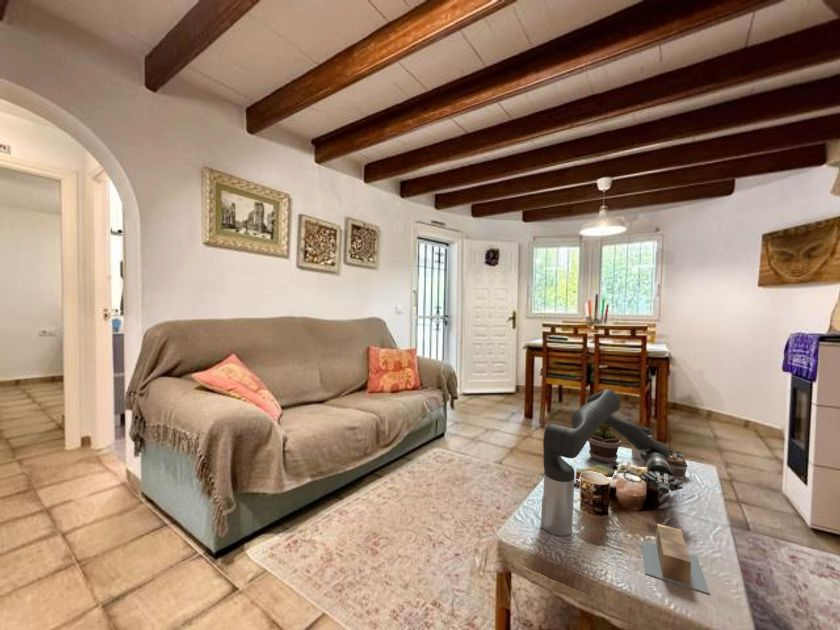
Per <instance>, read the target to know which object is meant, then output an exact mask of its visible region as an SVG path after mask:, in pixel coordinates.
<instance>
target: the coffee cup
mask: <svg viewBox="0 0 840 630" xmlns="http://www.w3.org/2000/svg"><path fill="white" fill-rule="evenodd" d="M636 425H637V424H636ZM637 426H638V427H639V428H641V429H642V430H643V431H644V432H645V433H646V434H647V435H648V436H649V437H651V438H652V436H653V431H652V430H651V428H649V427H647V426H645V425H641V424H640V425H639V424H638V425H637ZM630 444H631V443H630ZM630 447H631V457H633V458H635V459H636V460H642V458H641V456H640V453H641V451H642V450H638V449H637V448H635V447H634V446H633V445H632V444H631V445H630ZM642 461H643V460H642Z"/></svg>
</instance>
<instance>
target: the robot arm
mask: <svg viewBox="0 0 840 630" xmlns="http://www.w3.org/2000/svg"><path fill="white" fill-rule="evenodd" d="M620 408H621V400H620V397H619V395H618V394H617V393H616V391H614V390H611V389H608V388H607V389H606V388H605V389H603V390H600V391H598V392H596V393H594V394H591V395H590V396H588V397H587V399H586V403H585V404H583V405H582V406H580V407H579V408H578V409H576V410H575V411H574V412H573V414H572V415H571V418H570V419H571V420H570V423H571V424H570V425H571V427H572V428H571V427H568V426H563V425H559V424H554V423H549V424H548V425H547V426H546V427H545V429H544V432H543V439H542V440H543V443H542V445H543V446H542V447H543V469H544V471H543V489H542V490H543V493H542V495H543V496H542V498H541V513H540V528H542V529H544V530H545V531H547V532H549V533H550V534H552V535H556V536H559V537H562V536H563V537H564V536H565V537H566V536H569V535H570V534H572V532H573V526H574V525H573V524H574V523H573V519H574V518H573V517H574V501H575V500H574V496H575V495H574V493H575V478H576V474H575V473H576V472H575V468H574V467H573V466H572V465H571V464H569V463H568V462H566V460H564V459H563V458H567V459H575V458H576V457H577V456H579V454H580V453H581V452H582V450H583V448H584V447H585V445H586V444H587V442H588V439H589V438H590V437H591V436H592V435H593V434H594V433H595V432H596V431H597V430H599V428H600V427H601V425H602V424H603V423H604V422H605V423H606V424H607V425H609V426H610V427H611V429H613V430H615V431H616V432H618V434H620V435H621V436H623V437H624V438H625V439H626V440H627V441H628V442H629V443H630V444H632V445H633V446H634V447H635V448H637V449H638V450H642V451H641V453H640V456H641V458H642V461H643V463H645V465H646V470H647V473H646V472H645V471H641V472H640V473H641V477H640V479H641V480H642V481H643V482H645V483H647V484H648V485H650V486H651V487H653V488H655V487H657V488H658V492H661V494H662V495H668V494H669V493H670V491H671V492H675V491H679V490H681V489H683V487H684V481H683V480H681V479H676V477H673V475H672V472H671V469H670V466H669V465H668V462H667V459H668V458H669V457H670V452H669V450H670V449H669V448H668V447H667V446H666V445H664V444H663V443H661V442H659V441H658V440H655V439H654V438H653V437H652V436H651V437H649V436H648V435H647V434H646V433H645V432H644V431H643V430H642V429H641V428H639V427H638V426H637V424H635V423H634V422H631V421H628V420H625V419H622V418H620V417H618V416H615V415H614V414H615V412H618V411H619V410H620Z"/></svg>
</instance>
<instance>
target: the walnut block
mask: <svg viewBox="0 0 840 630" xmlns="http://www.w3.org/2000/svg"><path fill="white" fill-rule="evenodd" d="M655 539H656V541H655V543H656V545H657V549H658V555H659V560H660V566H661V571H662V576H664V577H667V578H670V579H673V580H676V581H680V582H683V583H686V584H689V585H690V572H691V561H690V557H689V554H690V553H689V552H688V549H687V545H686V542H685V539H684V535H683V532H682V529H680V528H676V527H672V526H668V525H664V524H660V523H657V524H656V538H655Z"/></svg>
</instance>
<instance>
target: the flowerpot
mask: <svg viewBox="0 0 840 630" xmlns="http://www.w3.org/2000/svg"><path fill="white" fill-rule="evenodd" d="M611 430H612V427H610V426H609V425H607V424H606V423H605V422H604V423H603V424H602V425H601V427H600V428H599V429H598V430H597V431H596V432H595V433H594V434H593V435H592V436H591V437H590V438H589V439H588V441H587V442H588V443H589V444H588V446H589V449H588V450H589V451H588V453H589V455H590V457H591V458H592V460H593V461H596V462H598V463H601V464H602V463H604V464H608V463H609V464H614V463H615V461H617V459H618V454H617V453H618V450H619V448H620V447H621V446H622V444H623V443H622V440H621V439H620V437H619V436H618V435H616V434H615V433H614V432H612V431H611Z"/></svg>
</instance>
